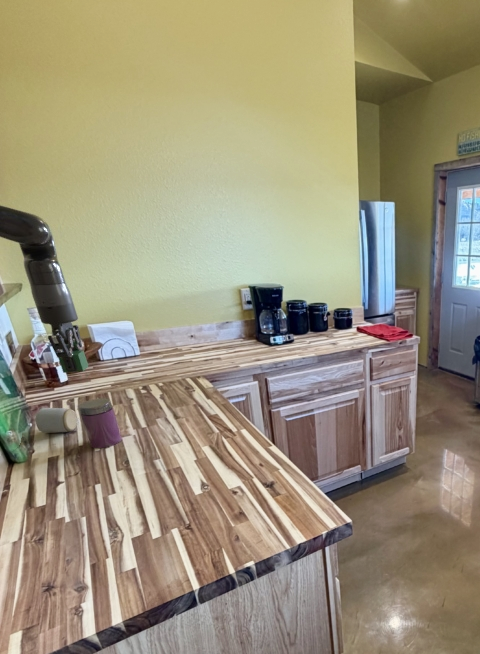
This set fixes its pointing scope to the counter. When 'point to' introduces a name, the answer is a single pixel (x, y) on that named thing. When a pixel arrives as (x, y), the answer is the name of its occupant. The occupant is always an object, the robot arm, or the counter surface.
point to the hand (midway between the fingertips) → (75, 368)
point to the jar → (102, 429)
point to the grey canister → (56, 420)
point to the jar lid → (95, 406)
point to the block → (76, 361)
